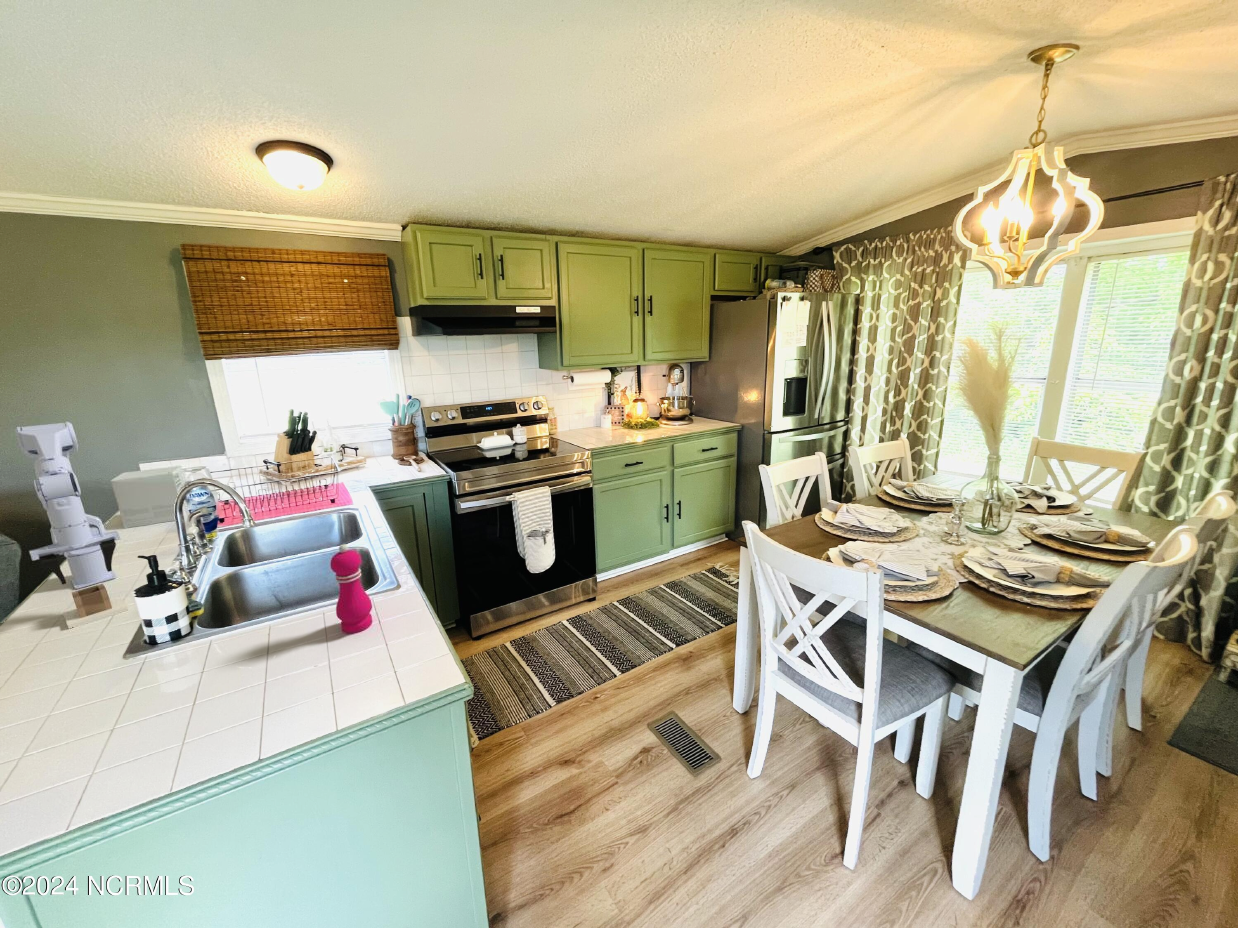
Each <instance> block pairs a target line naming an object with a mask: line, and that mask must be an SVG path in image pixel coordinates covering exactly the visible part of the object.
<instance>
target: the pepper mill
mask: <svg viewBox="0 0 1238 928" xmlns="http://www.w3.org/2000/svg"><path fill="white" fill-rule="evenodd" d="M361 565H362V558H361V555H360V553H358V552H357V551H356V550H352V549H349V546H348V545H346V544H341V545H340V546H339V547H338V552H337V553H335V554H334V555H333V556H332V557H331V559H330V569H331V570H332V572H334V573H335V575H334V577H335V581H336V582H337V583H338V586H339V593H338V594H339V595H338V599H337V603H336V606H335V612H336V613H335V614H336V617H337V618H338V619H339V620H340V621H341V622H340V627H341V631H342V632H343V633H345V634H357V633H361V632H363V631H365V630H367V629H368V628H370V627H371V625H372V624H373V618H372V614H371V611H372V609H373V603H372V601H371V598H370V597H369V594H367V592H366V590H364V588H363V586H362V584H361V578H360V577H361V576H362V573H361V568H360V566H361Z"/></svg>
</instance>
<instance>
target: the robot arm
mask: <svg viewBox="0 0 1238 928" xmlns="http://www.w3.org/2000/svg"><path fill="white" fill-rule="evenodd" d="M14 433H15V437H16V440H17V444H18V445H19V448H20V450H21V451H22V452H23V454H24V456H25V455H26V457H27V458H29V459H36V460H35V461H34V464H33V465H34V466H33V467H34V472H35V477H36V479H34V480H33V485H34V489H35V492H36V495H37V497H38V499H39V501H40V502H41V504H42V506H43V509H44V510H46V514H47V518H48V519H49V522H50V526H51V527H50V530H49V531H50V535H51V536H50V537H51V541H52V544H50V545H49V544H48V545H46V546H43V547H39V548H35V549H31V550H28V552H29V555H30V559H31V561H37V560H39V561H40V563H41V564H42V565H43V566H45V567H46V568H48V569H49V570H50V571H51V572H52V573H54V575H55V576H56V577H57V578H58V579H59V581H60V583H61V585H66V584H67V580H66V578H65V575H64V573H63V571H62V570H61V567H60V564H59V560H58V559H57V556H56V555H60V556H62V555H63V556H64V558H66V561H67V563H68V566H69V570H70V573H71V575H72V577H71V578H70V581H71V584H72V585H73V588H74V590H78V589H81V588H82V589H83V588H85V587H87V586H89V587H90V586H91V585H92V586H94V585H97V584H101V583H103V582H106V581H110V580H113V579H116V578H117V575H116V574H115V573H114V571H113V568H112V564H113V563H112V562H113V556H114V552H115V549H116V546H117V544H116V543H117V542H116V541H119V540H121V535H120V532H119V531H118V530H115V531H108V532H106V528H105V525H104V524H103V521H102V519H101V518H100V517H98V516H95V515H92V514H88V513H86V512H85V509H84V506H83V503H82V499H81V495H82V493H81V491H82V490H81V487H80V484H79V480H78V478H77V475H76V474H75V473H74V470H73V469H72V464H71V461H70V457H71V455H73V454H76V453H77V452H79V450H78V449H79V444H78V442H79V441H78V439H77V435H76V432H75V429H74V426H73V423H71V422H69V421H65V422H60V423H59V422H57V423H49V424H38V425H28V426H17V427H16V428H15V429H14Z"/></svg>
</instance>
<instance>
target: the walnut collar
mask: <svg viewBox="0 0 1238 928" xmlns="http://www.w3.org/2000/svg"><path fill="white" fill-rule="evenodd" d="M71 596H72V599H73V602H74V604H75V607H76V608H75V609H77V611H78V613H79V615H80V618H83V617H86V616H89V615H92V614H96V613H99V612H102V611H105V610H108V609H112V605H111V602H110V597H109V594H108V591H107V589H106V586H105V584H104V583H98V584H95V585H92V586H89V587H86V588H85V587H84V588H82V589H79V590H78V589H77V590H76V591H71Z"/></svg>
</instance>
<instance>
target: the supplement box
mask: <svg viewBox="0 0 1238 928" xmlns="http://www.w3.org/2000/svg"><path fill="white" fill-rule="evenodd" d="M182 473H183V474H184V471H183V468H182V465H175V466H174V465H173V466H168V467H159V468H152V469H151V468H150V469H144V470H143V469H142V470H135V471H134V470H133V471H126V472H122V473H121V474H119V475H117V476H115V477H114V478H112V479H111V480H110V481H109V482H110V484H111V487H112V491H113V493H114V494H113V495H114V497H115V500H116V504H117V507H118V511H119V515H120V519H121V521H122V524H123V529H129V528H135V527H141V526H148V525H155V524H156V525H157V524H160V523H168V522H176V521H175V520H174V504H175V500H176V498H177V495H178V492H179V490H180V488H181V487H182V485H183V484H184V483H185V482H186V479H185V475H184V476H182Z"/></svg>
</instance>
